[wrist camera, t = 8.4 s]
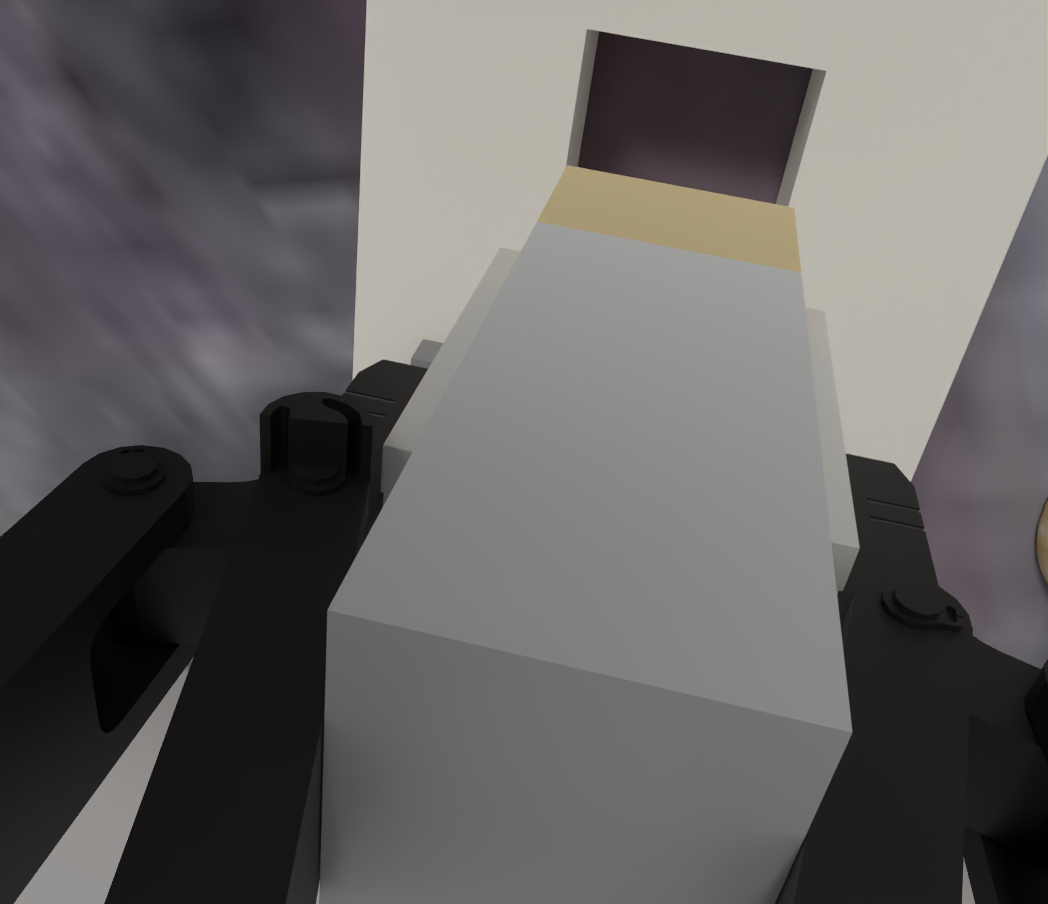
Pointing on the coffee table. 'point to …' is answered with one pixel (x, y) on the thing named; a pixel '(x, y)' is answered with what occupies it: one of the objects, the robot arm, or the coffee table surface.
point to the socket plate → (808, 182)
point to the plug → (599, 583)
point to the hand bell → (1043, 542)
